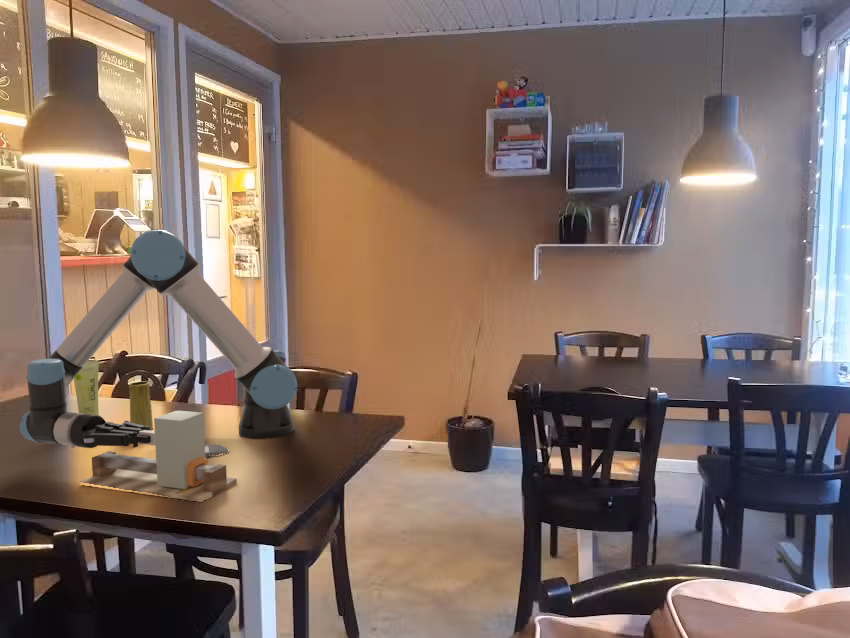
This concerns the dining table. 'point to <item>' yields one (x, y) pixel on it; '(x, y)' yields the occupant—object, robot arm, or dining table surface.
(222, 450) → the grey flat plane shape
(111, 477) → the rod stand
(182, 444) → the sleeve
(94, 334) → the robot arm
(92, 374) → the tube
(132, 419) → the vase
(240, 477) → the dining table surface
